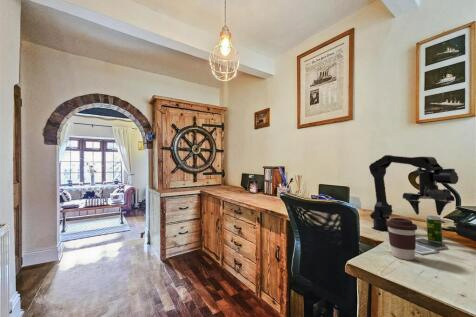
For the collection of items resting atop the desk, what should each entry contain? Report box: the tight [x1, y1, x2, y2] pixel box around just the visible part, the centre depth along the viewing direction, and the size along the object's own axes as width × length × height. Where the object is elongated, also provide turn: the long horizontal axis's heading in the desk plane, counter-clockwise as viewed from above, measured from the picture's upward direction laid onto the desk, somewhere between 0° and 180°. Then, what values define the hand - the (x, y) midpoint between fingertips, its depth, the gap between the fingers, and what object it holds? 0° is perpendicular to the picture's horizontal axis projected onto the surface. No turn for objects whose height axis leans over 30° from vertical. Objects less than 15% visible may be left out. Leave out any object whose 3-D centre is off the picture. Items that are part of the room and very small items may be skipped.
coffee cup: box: [386, 217, 418, 261], centre depth 83 cm, size 10×10×15 cm
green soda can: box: [426, 215, 444, 244], centre depth 100 cm, size 5×5×12 cm
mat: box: [415, 244, 440, 256], centre depth 90 cm, size 10×10×1 cm
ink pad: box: [416, 238, 449, 251], centre depth 94 cm, size 10×8×2 cm
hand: (428, 214), depth 97 cm, fingers open, 9 cm apart
